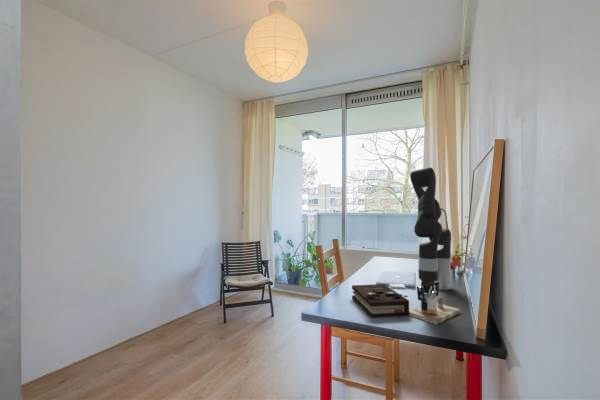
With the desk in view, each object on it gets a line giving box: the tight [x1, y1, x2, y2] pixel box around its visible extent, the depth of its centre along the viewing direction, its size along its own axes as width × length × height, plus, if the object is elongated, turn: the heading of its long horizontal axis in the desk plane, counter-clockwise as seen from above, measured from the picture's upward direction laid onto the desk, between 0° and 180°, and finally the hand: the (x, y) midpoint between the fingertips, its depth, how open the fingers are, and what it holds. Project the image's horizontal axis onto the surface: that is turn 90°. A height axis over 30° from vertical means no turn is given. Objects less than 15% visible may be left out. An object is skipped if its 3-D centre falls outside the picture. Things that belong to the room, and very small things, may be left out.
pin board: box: [409, 296, 461, 325], centre depth 124 cm, size 20×12×6 cm, turn 127°
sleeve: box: [420, 295, 437, 314], centre depth 121 cm, size 6×6×6 cm
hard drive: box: [388, 283, 407, 290], centre depth 166 cm, size 2×8×12 cm
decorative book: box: [351, 283, 410, 319], centre depth 133 cm, size 19×8×30 cm
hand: (428, 308), depth 121 cm, fingers closed on sleeve, 5 cm apart
